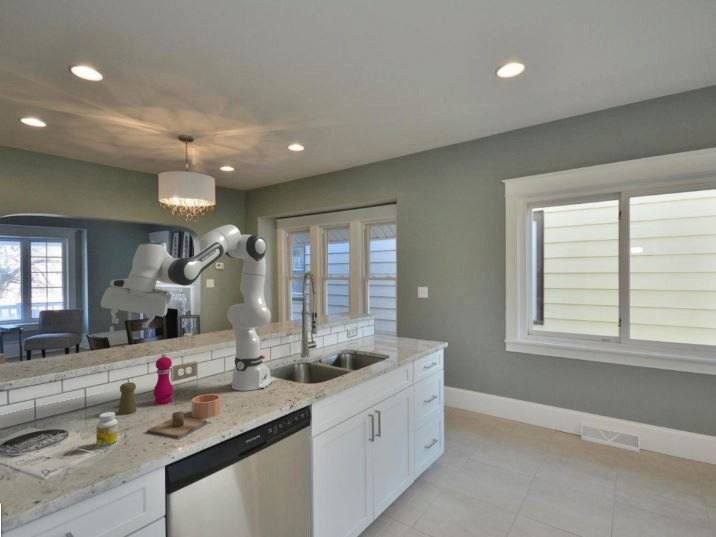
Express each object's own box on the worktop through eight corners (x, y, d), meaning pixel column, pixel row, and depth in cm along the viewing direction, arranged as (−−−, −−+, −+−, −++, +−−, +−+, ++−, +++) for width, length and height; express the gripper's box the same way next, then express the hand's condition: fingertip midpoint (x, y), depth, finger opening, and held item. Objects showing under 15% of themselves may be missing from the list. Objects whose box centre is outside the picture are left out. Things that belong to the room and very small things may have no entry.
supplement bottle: (121, 443, 116) (121, 412, 116) (104, 450, 111) (104, 418, 111) (109, 440, 118) (110, 410, 118) (92, 447, 113) (92, 415, 113)
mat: (177, 418, 137) (177, 416, 137) (210, 423, 132) (210, 422, 132) (142, 434, 123) (142, 433, 123) (178, 441, 118) (178, 439, 118)
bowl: (204, 408, 147) (205, 392, 147) (226, 411, 144) (226, 395, 144) (185, 417, 137) (186, 401, 138) (208, 420, 134) (208, 404, 134)
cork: (127, 415, 139) (128, 385, 139) (114, 414, 140) (114, 384, 140) (140, 409, 145) (140, 381, 145) (127, 408, 146) (127, 380, 146)
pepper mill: (150, 402, 153) (151, 353, 154) (168, 398, 159) (169, 351, 159) (156, 406, 148) (157, 356, 149) (175, 402, 154) (176, 353, 154)
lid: (177, 418, 136) (177, 405, 136) (206, 422, 131) (206, 409, 132) (147, 432, 123) (147, 417, 123) (178, 438, 119) (178, 423, 119)
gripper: (174, 292, 136) (164, 330, 133) (111, 282, 131) (100, 321, 128) (170, 290, 130) (160, 330, 127) (105, 279, 125) (93, 320, 122)
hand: (129, 325), depth 128 cm, fingers open, 8 cm apart
